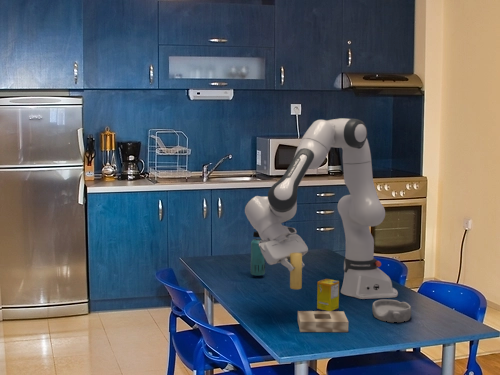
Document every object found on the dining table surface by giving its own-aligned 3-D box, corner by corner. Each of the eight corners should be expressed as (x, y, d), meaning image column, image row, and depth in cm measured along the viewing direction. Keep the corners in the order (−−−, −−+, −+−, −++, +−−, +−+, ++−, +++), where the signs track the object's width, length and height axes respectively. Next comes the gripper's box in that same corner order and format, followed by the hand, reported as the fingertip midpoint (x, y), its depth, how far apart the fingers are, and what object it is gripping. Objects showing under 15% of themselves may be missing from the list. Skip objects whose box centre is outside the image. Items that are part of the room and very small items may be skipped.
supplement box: (325, 306, 268) (325, 278, 266) (339, 310, 264) (339, 281, 263) (316, 310, 263) (316, 281, 262) (330, 313, 259) (330, 284, 258)
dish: (401, 326, 246) (402, 312, 245) (365, 319, 254) (365, 305, 253) (418, 316, 258) (418, 302, 257) (382, 309, 266) (383, 296, 265)
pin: (301, 286, 250) (301, 252, 248) (302, 289, 246) (302, 255, 244) (289, 286, 250) (290, 252, 248) (290, 289, 246) (290, 255, 244)
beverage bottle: (252, 279, 308) (252, 233, 306) (248, 275, 314) (248, 230, 312) (267, 278, 310) (267, 232, 307) (262, 274, 316) (263, 230, 314)
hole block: (343, 321, 251) (343, 311, 250) (348, 332, 239) (348, 321, 238) (297, 320, 251) (297, 311, 250) (300, 331, 239) (300, 321, 238)
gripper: (261, 235, 242) (284, 268, 237) (297, 227, 258) (319, 258, 252) (251, 247, 245) (273, 279, 240) (287, 238, 261) (309, 268, 256)
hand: (297, 268), depth 247 cm, fingers closed on pin, 4 cm apart
